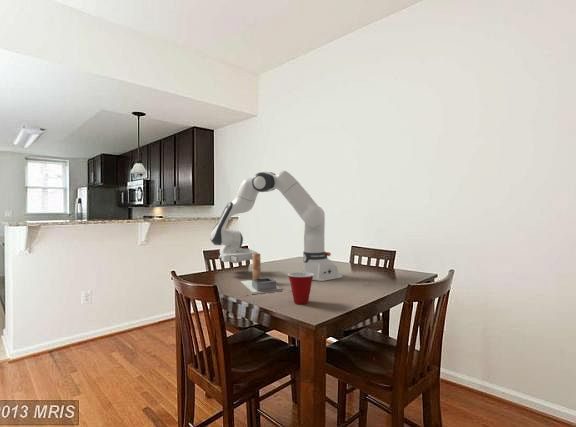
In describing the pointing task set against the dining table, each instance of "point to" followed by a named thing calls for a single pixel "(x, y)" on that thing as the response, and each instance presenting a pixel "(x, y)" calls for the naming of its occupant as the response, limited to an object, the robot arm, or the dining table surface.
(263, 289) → the board
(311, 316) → the dining table surface
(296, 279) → the plastic cup
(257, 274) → the peg
